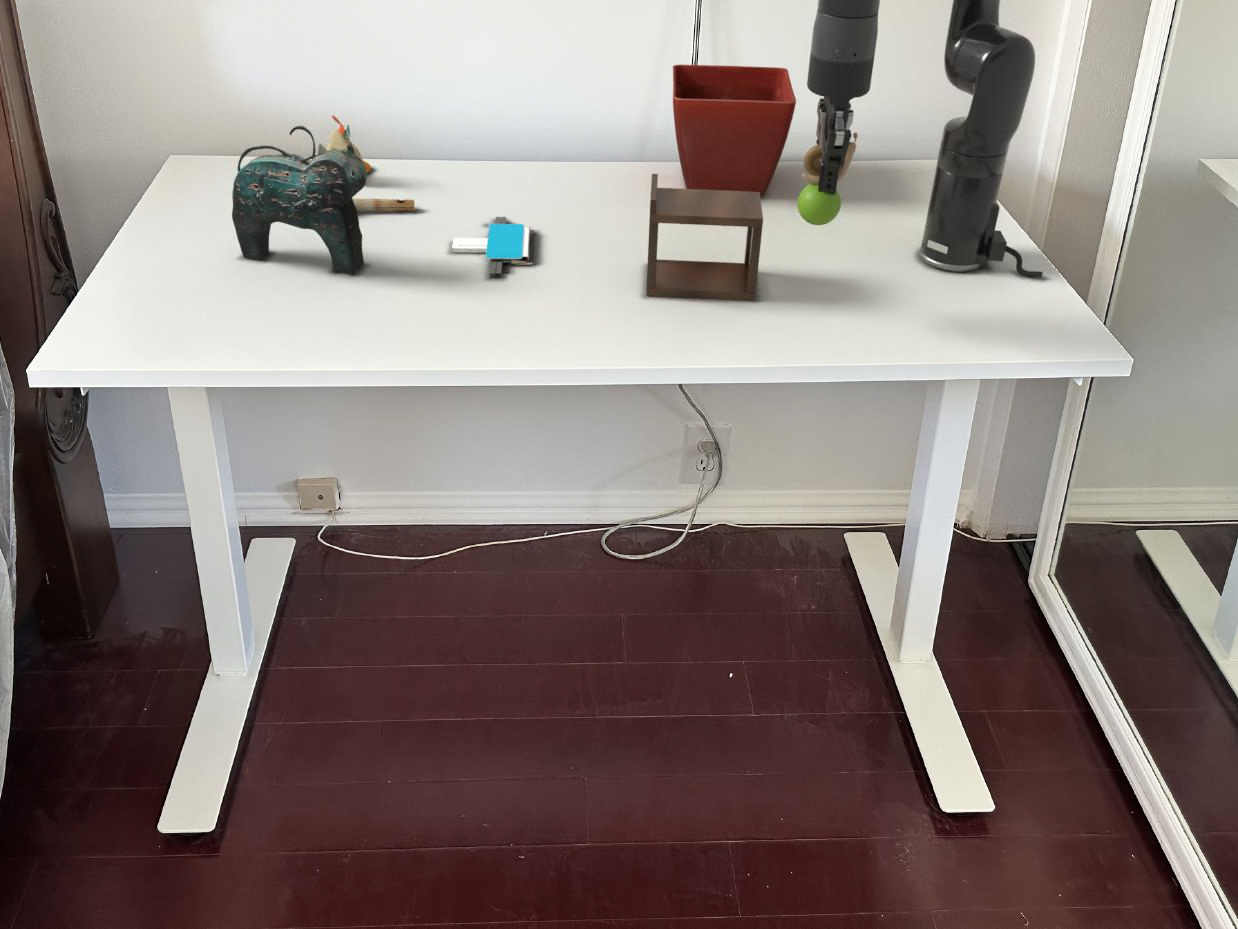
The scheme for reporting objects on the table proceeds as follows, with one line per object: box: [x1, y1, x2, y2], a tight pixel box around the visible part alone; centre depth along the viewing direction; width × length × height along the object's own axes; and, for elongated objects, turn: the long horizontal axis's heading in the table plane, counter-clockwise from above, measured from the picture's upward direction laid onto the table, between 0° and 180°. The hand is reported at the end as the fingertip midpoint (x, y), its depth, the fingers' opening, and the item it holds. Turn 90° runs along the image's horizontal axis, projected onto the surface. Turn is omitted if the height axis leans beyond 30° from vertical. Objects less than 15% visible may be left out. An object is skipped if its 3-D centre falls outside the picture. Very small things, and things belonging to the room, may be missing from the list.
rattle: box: [325, 115, 372, 174], centre depth 191 cm, size 8×8×12 cm
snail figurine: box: [797, 132, 859, 226], centre depth 147 cm, size 5×6×12 cm
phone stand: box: [451, 216, 535, 278], centre depth 173 cm, size 20×12×2 cm, turn 3°
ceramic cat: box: [231, 125, 368, 275], centre depth 161 cm, size 20×6×20 cm, turn 74°
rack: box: [645, 173, 764, 302], centre depth 161 cm, size 15×10×14 cm, turn 87°
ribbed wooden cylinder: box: [352, 197, 415, 212], centre depth 182 cm, size 4×3×20 cm
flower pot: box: [672, 64, 797, 197], centre depth 192 cm, size 19×19×17 cm
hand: (825, 189), depth 148 cm, fingers closed on snail figurine
